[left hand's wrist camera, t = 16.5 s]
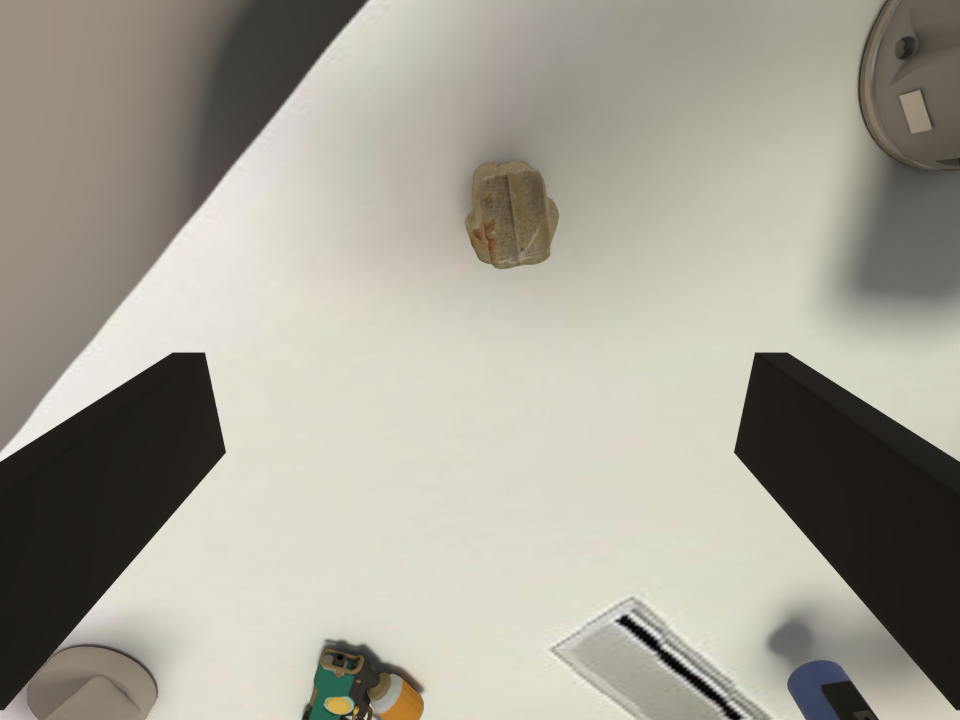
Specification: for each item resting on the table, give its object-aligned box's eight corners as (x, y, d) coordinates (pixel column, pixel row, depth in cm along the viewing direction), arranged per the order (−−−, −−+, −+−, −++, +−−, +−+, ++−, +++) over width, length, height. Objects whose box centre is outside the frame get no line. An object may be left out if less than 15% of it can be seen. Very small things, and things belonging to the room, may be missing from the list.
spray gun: (378, 752, 66) (273, 703, 63) (448, 685, 60) (336, 627, 57) (369, 791, 62) (257, 740, 59) (443, 723, 56) (322, 663, 53)
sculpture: (540, 158, 39) (574, 158, 25) (543, 253, 42) (575, 301, 28) (464, 164, 39) (456, 167, 25) (472, 258, 42) (468, 308, 28)
